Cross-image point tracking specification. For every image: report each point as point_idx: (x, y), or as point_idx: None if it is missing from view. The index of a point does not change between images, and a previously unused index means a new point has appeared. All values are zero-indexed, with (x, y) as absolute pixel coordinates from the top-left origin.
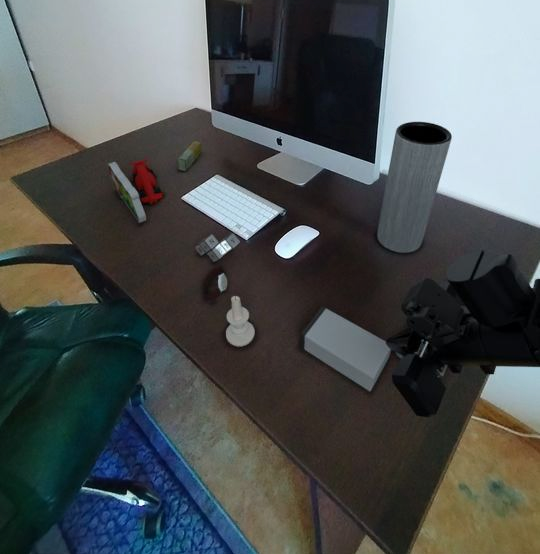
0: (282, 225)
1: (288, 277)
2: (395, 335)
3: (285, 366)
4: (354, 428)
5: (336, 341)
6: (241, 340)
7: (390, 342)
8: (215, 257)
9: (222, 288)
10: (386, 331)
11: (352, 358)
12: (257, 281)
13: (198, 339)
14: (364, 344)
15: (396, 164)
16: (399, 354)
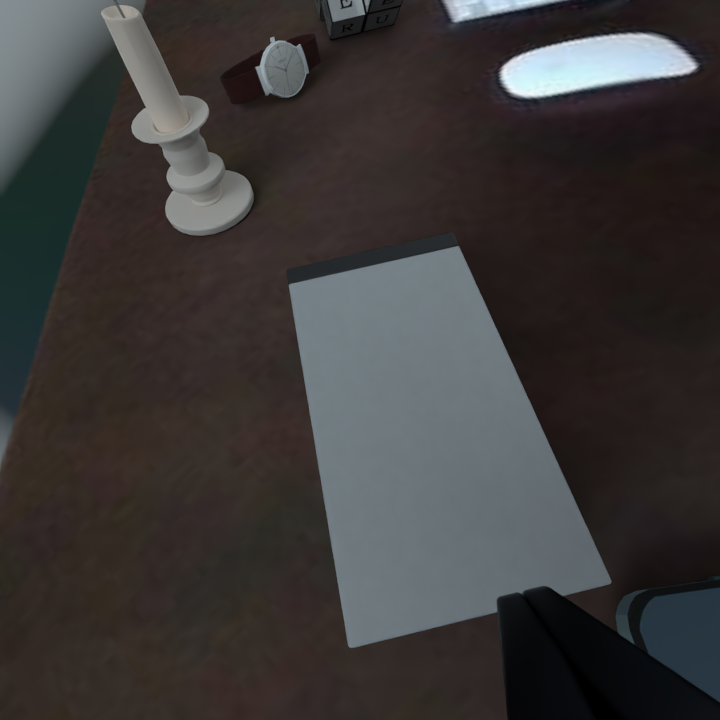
0: (589, 18)
1: (470, 140)
2: (624, 654)
3: (214, 345)
4: (175, 705)
5: (368, 373)
6: (188, 216)
7: (507, 663)
8: (328, 16)
9: (270, 83)
10: (662, 488)
11: (355, 481)
12: (379, 115)
13: (130, 169)
14: (469, 469)
15: None
16: (628, 633)
